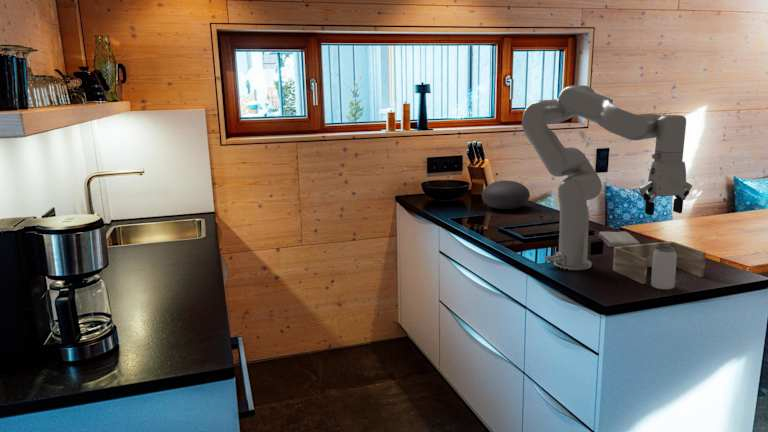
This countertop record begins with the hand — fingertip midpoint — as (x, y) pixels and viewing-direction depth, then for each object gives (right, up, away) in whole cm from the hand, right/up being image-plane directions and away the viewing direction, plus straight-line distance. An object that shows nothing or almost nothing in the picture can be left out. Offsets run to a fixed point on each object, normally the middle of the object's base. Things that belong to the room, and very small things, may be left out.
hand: (663, 213), depth 169 cm
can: (+1, -23, +2) cm, 23 cm away
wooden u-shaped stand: (+5, -20, +14) cm, 25 cm away
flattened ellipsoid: (-21, +3, +123) cm, 125 cm away
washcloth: (+9, -12, +54) cm, 56 cm away
